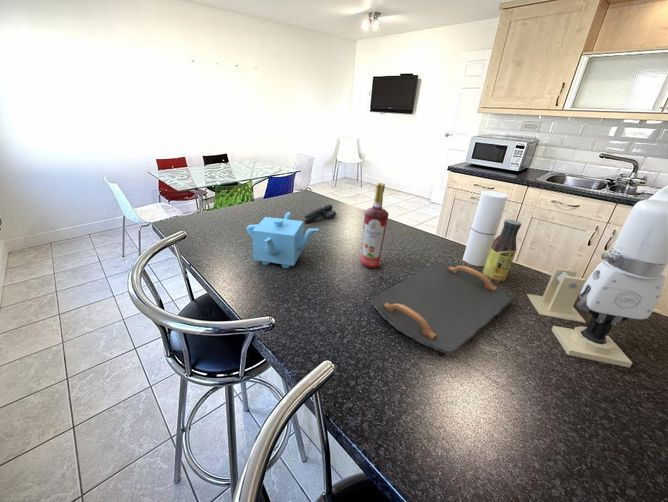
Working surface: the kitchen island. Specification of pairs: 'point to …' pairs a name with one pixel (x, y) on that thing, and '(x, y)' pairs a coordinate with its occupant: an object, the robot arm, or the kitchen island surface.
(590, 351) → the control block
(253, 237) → the teakettle
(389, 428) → the kitchen island surface
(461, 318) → the serving tray
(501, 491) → the kitchen island surface
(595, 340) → the dark round button
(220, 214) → the kitchen island surface
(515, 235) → the sauce bottle
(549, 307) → the cream upright bracket stand
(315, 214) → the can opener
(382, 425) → the kitchen island surface
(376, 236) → the liquor
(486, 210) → the cylindrical container
